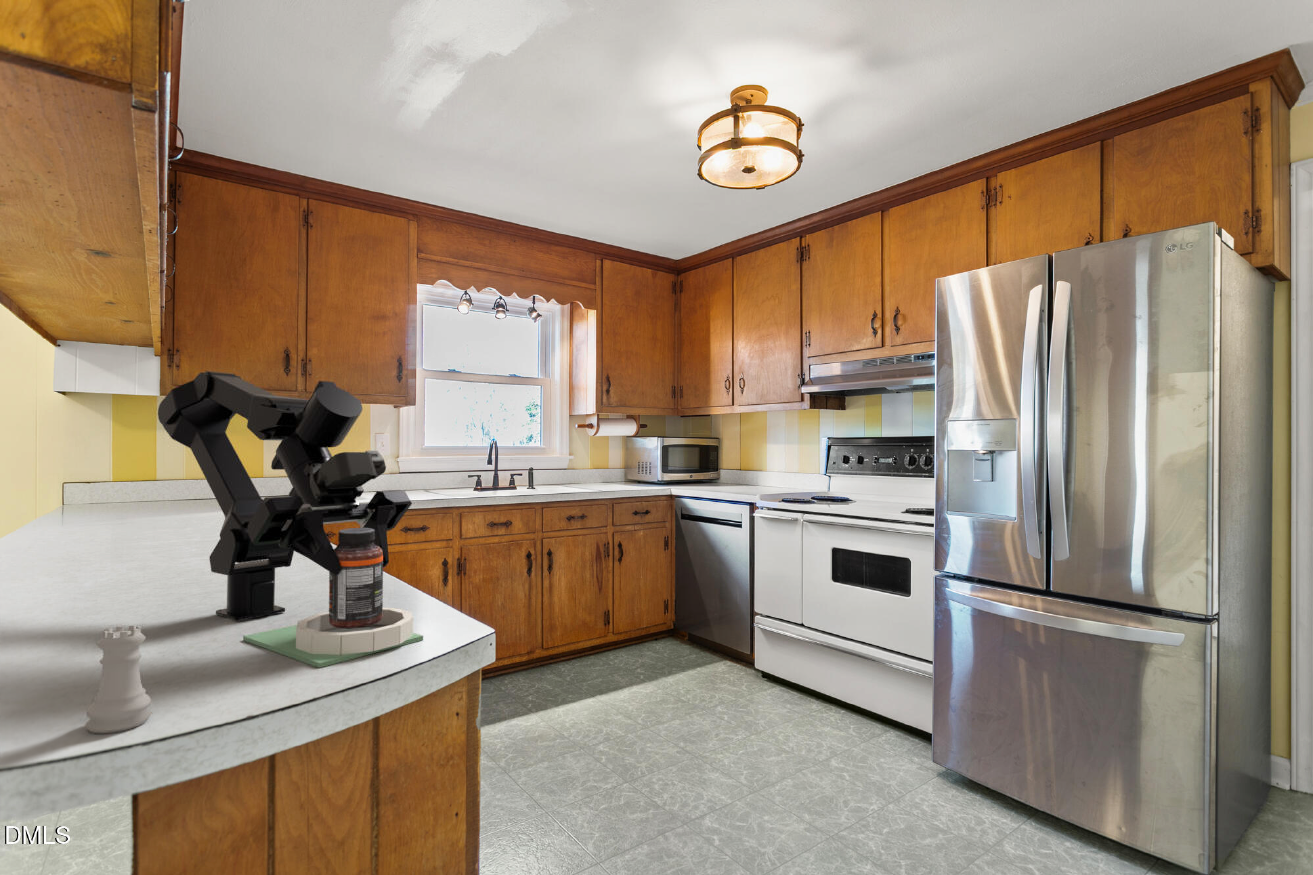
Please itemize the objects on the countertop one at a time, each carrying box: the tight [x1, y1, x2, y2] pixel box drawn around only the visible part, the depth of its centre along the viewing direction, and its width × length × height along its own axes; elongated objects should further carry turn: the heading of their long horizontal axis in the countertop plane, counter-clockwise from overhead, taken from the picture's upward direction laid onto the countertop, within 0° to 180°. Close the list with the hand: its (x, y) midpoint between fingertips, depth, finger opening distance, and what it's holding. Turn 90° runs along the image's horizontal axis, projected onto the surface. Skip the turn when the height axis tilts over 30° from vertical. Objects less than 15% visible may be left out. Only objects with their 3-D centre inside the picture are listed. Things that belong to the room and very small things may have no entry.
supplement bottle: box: [328, 527, 384, 629], centre depth 81 cm, size 6×6×11 cm
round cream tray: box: [296, 607, 414, 655], centre depth 80 cm, size 13×13×2 cm
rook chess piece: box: [84, 624, 153, 735], centre depth 56 cm, size 4×4×8 cm
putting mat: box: [242, 624, 424, 669], centre depth 81 cm, size 17×13×1 cm
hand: (363, 568), depth 80 cm, fingers closed on supplement bottle, 6 cm apart
